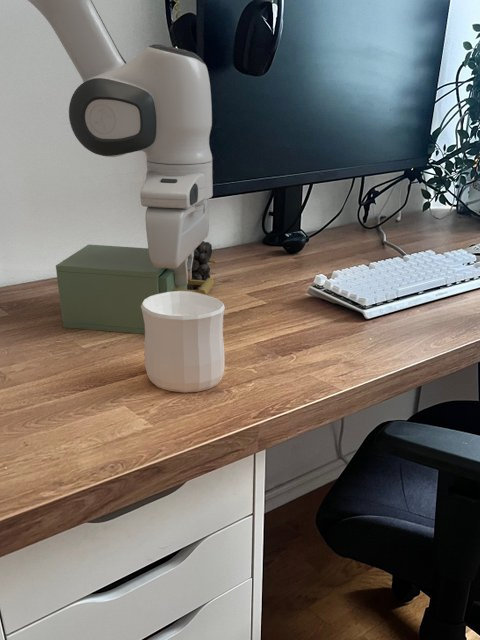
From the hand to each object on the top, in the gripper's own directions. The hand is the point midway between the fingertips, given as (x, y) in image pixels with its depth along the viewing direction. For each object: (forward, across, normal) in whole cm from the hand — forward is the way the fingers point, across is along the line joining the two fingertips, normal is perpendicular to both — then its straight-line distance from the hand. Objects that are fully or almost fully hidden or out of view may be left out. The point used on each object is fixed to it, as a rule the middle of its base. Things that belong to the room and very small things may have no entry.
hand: (183, 283), depth 101 cm
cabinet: (+6, 0, -9) cm, 11 cm away
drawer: (+5, 0, -5) cm, 7 cm away
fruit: (+6, -17, -6) cm, 19 cm away
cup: (+6, +20, +5) cm, 21 cm away
